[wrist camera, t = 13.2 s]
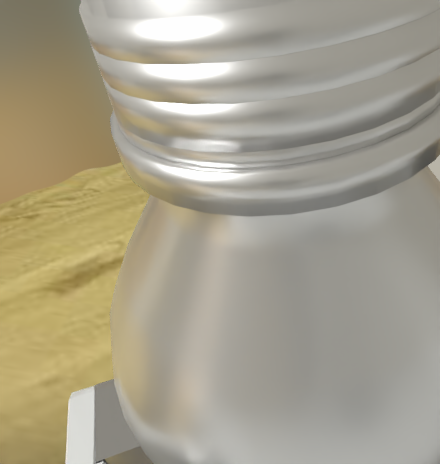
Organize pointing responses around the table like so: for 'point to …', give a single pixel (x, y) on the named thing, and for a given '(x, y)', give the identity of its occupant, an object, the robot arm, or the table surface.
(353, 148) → the plastic bottle
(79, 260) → the table surface
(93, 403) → the robot arm
